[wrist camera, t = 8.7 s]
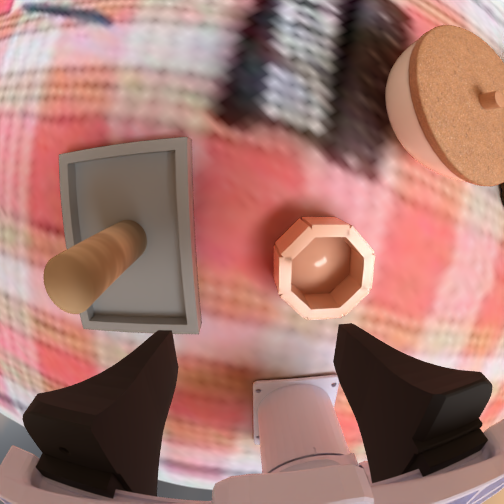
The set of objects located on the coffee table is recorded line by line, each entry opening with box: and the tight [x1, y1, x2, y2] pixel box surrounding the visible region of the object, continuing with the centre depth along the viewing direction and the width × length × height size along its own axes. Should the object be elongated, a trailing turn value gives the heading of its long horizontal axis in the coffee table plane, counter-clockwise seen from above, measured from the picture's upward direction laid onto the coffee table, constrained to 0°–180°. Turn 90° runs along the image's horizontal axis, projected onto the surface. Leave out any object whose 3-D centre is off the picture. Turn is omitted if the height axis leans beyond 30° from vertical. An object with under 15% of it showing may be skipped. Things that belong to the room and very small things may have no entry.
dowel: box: [44, 220, 147, 314], centre depth 16 cm, size 3×3×9 cm
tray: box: [59, 137, 202, 334], centre depth 20 cm, size 14×10×2 cm
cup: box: [274, 217, 375, 320], centre depth 21 cm, size 7×7×3 cm
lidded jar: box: [385, 25, 504, 186], centre depth 15 cm, size 11×11×9 cm
